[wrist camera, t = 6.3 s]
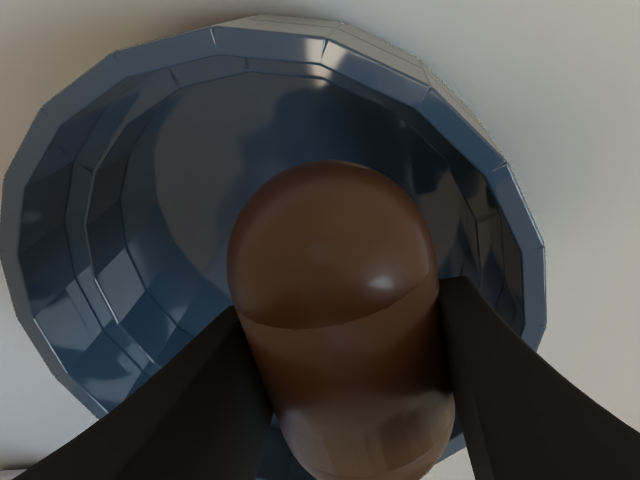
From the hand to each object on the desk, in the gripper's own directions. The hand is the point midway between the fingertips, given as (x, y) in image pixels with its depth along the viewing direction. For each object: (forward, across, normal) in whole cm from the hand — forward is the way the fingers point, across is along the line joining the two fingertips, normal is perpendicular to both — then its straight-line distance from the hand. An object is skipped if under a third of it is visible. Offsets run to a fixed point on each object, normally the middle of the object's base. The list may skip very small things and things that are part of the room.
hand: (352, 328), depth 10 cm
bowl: (+5, +2, 0) cm, 6 cm away
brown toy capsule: (+2, 0, 0) cm, 2 cm away
